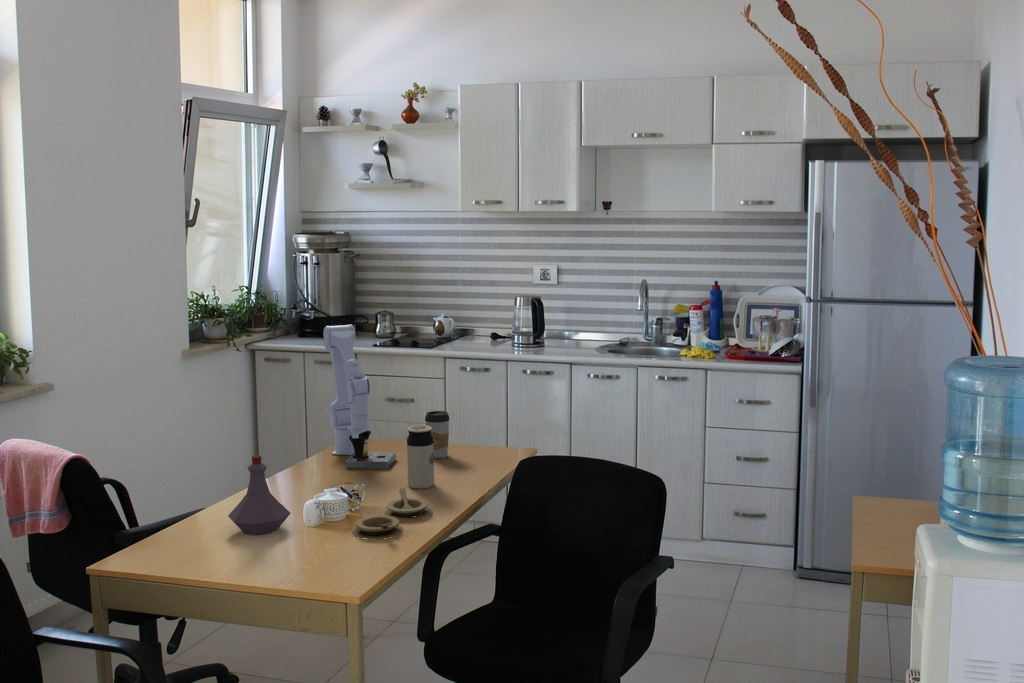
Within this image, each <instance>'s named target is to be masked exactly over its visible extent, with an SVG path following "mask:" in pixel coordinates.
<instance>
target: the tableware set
mask: <svg viewBox="0 0 1024 683" xmlns="http://www.w3.org/2000/svg"><path fill="white" fill-rule="evenodd" d="M399 494H400V495H399V496H400V497H401V498H399V499H394V500H391V501H390V502H388V503H387V505H386V509H387V510H386V511H384V515H382V514H379V515H371V516H365V517H362V518H360V519H358V520H356V522H355V528H353V530H352V532H351V534H352V536H353V535H354V537H355V536H356V537H355V538H357V537H359V538H358V539H360V538H367V539H382V540H385V539H384V538H388V539H391V538H390V537H392V538H395V537H398V536H399V534H400V533H401V534H402V533H403V530H404V529H403V527H402V526H401V525H400V522H411V521H410V520H416V521H419V520H418V519H421V520H423V519H422V518H425V519H427V518H426V517H428V516H430V515H431V514H432V515H433V510H432V509H431V508H430V507H429V502H428V501H427V500H425V499H423V498H418V497H407V491H406V488H405V487H400V488H399ZM423 511H424V512H423ZM422 513H423V514H422ZM419 514H420V515H419ZM417 515H418V516H417ZM432 515H431V516H432ZM413 516H416V517H413ZM431 516H430V517H431ZM428 518H429V517H428ZM401 534H400V535H401ZM397 535H398V536H397ZM394 536H395V537H394Z"/></svg>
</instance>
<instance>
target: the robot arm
mask: <svg viewBox="0 0 1024 683" xmlns="http://www.w3.org/2000/svg"><path fill="white" fill-rule="evenodd" d="M355 340H356V329H355V326H354V325H353V324H345V325H343V324H342V325H340V324H339V325H326V326H325V327H324V328H323V342H324V343H323V344H324V349H325V351H327V352H329V354H330V357H331V367H332V373H333V382H334V384H333V385H334V390H335V391H334V392H335V393H334V394H335V400H334V401H333V402H331V403H330V405H329V407H328V421H329V422H328V423H329V425H330V426H331V428H334V449H335V450H334V451H332V453H331V455H336V456H337V455H338V456H339V455H340V456H341V455H342V456H344V455H347V456H348V455H349V456H351V455H352V454H353V453H354V452H355V455H356V457H362V456H363V451H364V444H365V440H366V439H368V440H369V439H370V436H371V434H372V431H371V430H370V425H369V422H370V421H369V400H368V399H369V396H368V395H370V393H371V392H370V391H371V384H370V380H369V378H368V377H367V375H366V374H364V371H363V368H362V365H361V362H360V361H359V360H357V359H356V356H355V351H354V350H355V349H354V347H353V345H354V343H355Z"/></svg>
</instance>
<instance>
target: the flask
mask: <svg viewBox="0 0 1024 683" xmlns="http://www.w3.org/2000/svg"><path fill="white" fill-rule="evenodd" d="M251 462H252V463H251V464H249V465H248V466H247V467H246V468H247V470H248V472H249V474H250V475H249V482H248V486H247V492H246V494H245V495H244V496H243V497H242V499H241V500H240V502H238V504H237V505H236V506H235V507H234V508H233V510H232V511H230V513H229V514H228V515H227V517H228V518H229V519H230V520H231V521H232V523H234V524H235V526H236V527H237V528H239V529H240V531H242V533H244V535H247V536H256V537H257V536H264V535H269V534H272V533H274V532H276V531H278V529H279V528H280V527H281V526H282V525H283V524H284V522H285V521H286V520H287V519H288V517H289V516H290V514H291V512H290V510H288V508H286V507H285V506H284V505H283V504H282V503H280V502H279V500H278V499H276V497H274V495H273V494H272V493H271V492H270V489H269V486H268V482H267V480H266V476H265V472H266V470H267V466H266V464H264V463H263V462H262V456H261V455H253V456H251Z"/></svg>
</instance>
